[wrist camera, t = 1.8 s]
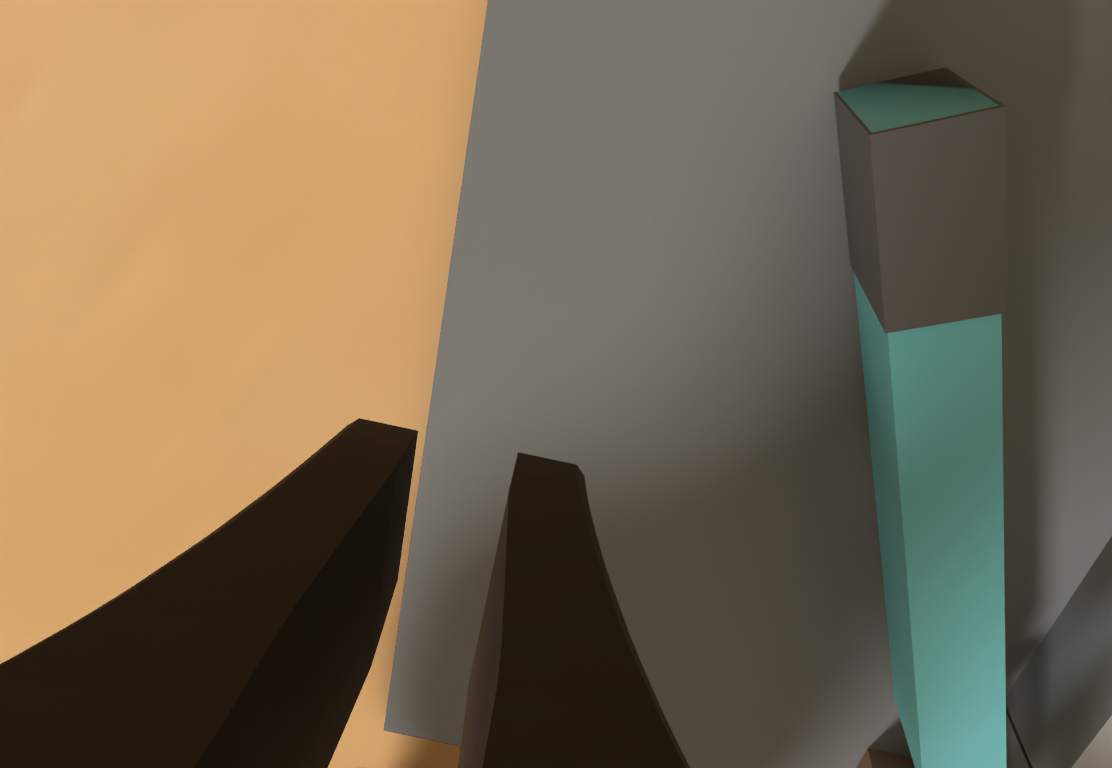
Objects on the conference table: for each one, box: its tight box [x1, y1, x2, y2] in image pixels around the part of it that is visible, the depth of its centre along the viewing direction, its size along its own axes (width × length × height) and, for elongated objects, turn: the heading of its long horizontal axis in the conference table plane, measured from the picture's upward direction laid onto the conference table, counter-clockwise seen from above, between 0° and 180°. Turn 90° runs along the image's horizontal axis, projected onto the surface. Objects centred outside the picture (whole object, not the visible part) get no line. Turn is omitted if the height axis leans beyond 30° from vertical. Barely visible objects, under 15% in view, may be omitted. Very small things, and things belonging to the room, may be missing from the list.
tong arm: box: [833, 67, 1007, 768], centre depth 16 cm, size 14×2×3 cm, turn 14°
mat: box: [384, 0, 1112, 768], centre depth 18 cm, size 22×18×1 cm
